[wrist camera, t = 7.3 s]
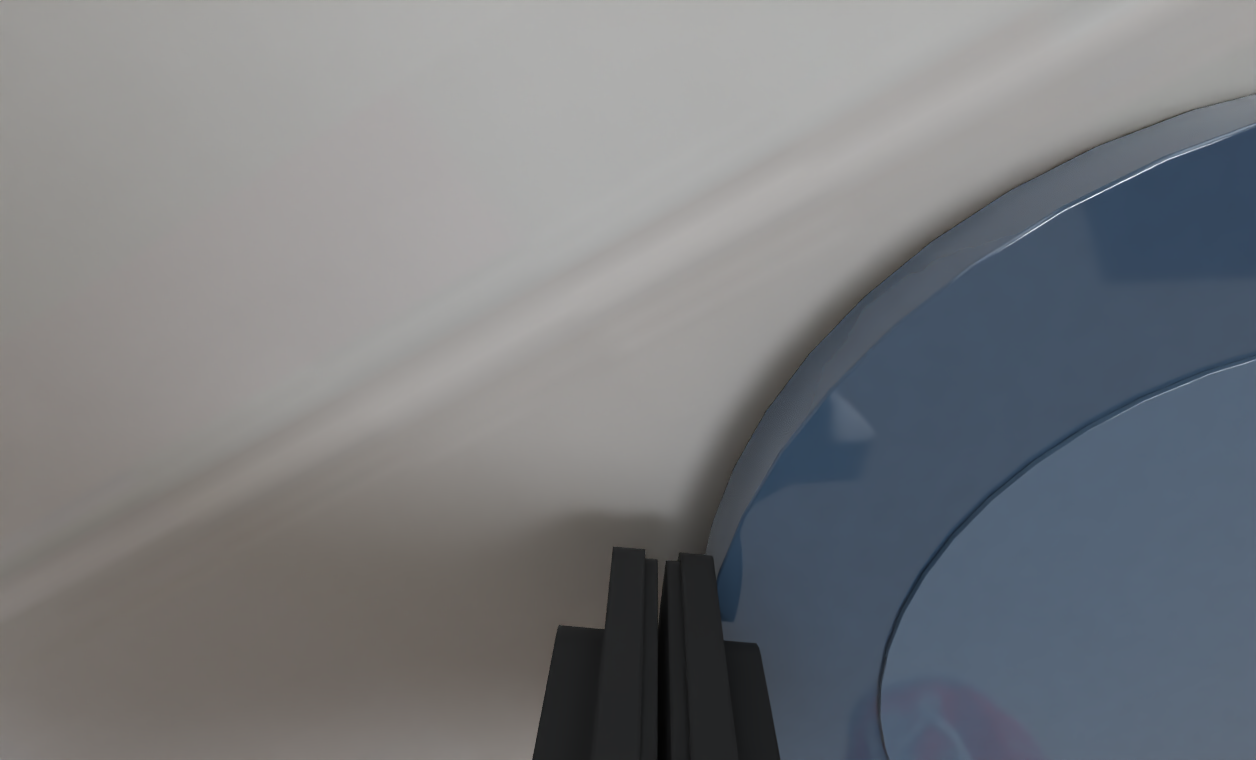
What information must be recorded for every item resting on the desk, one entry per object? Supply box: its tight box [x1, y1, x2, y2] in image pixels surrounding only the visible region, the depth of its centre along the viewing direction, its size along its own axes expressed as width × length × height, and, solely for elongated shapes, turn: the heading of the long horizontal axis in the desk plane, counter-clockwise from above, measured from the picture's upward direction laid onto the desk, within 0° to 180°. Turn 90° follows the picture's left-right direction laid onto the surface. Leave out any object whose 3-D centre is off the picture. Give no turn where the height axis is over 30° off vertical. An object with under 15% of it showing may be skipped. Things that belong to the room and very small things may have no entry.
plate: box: [705, 94, 1256, 760], centre depth 11 cm, size 18×18×2 cm
